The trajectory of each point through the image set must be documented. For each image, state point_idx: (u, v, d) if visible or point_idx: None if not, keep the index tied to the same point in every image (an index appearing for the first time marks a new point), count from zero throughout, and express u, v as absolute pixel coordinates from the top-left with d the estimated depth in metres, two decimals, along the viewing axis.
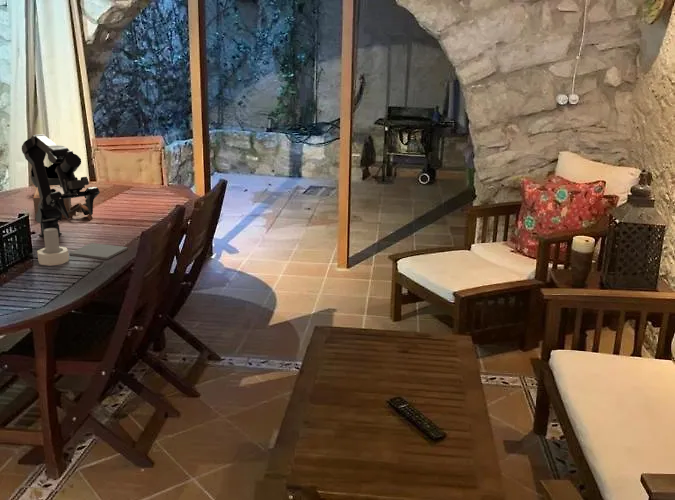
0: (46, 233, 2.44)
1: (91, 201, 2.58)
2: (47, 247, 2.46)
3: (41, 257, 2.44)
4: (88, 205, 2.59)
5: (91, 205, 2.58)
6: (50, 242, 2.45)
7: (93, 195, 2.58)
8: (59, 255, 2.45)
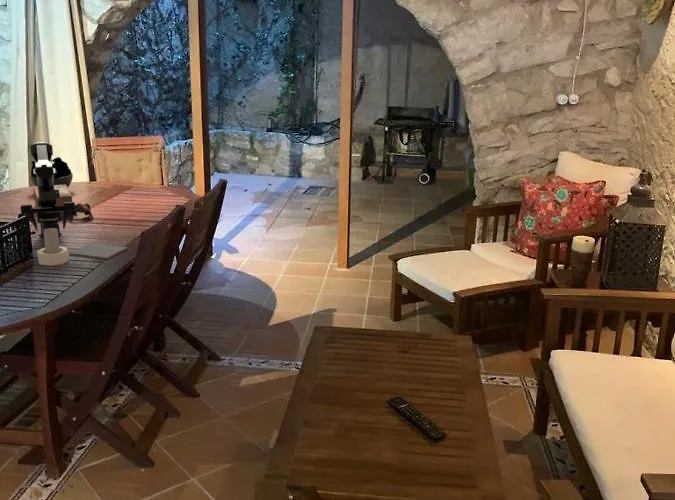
0: (46, 233, 2.44)
1: (64, 216, 2.53)
2: (47, 247, 2.46)
3: (41, 257, 2.44)
4: None
5: (64, 219, 2.52)
6: (50, 242, 2.45)
7: (67, 209, 2.53)
8: (59, 255, 2.45)
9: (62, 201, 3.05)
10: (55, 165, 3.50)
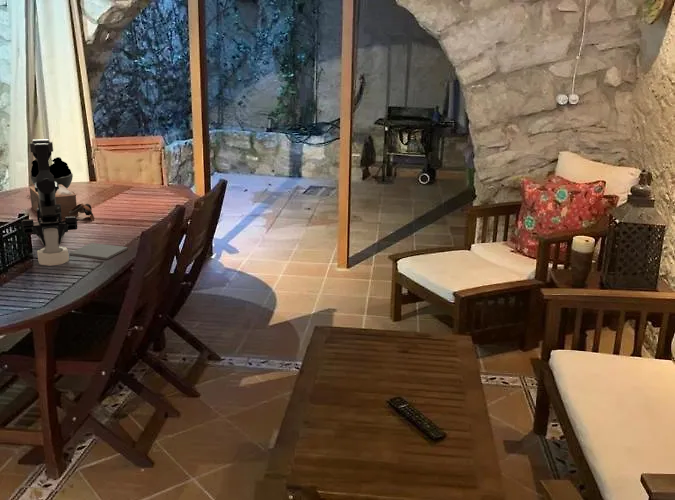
0: (46, 233, 2.44)
1: (60, 231, 2.48)
2: (47, 247, 2.46)
3: (41, 257, 2.44)
4: None
5: (60, 234, 2.48)
6: (50, 242, 2.45)
7: (63, 224, 2.48)
8: (59, 255, 2.45)
9: (66, 200, 3.06)
10: (55, 165, 3.50)
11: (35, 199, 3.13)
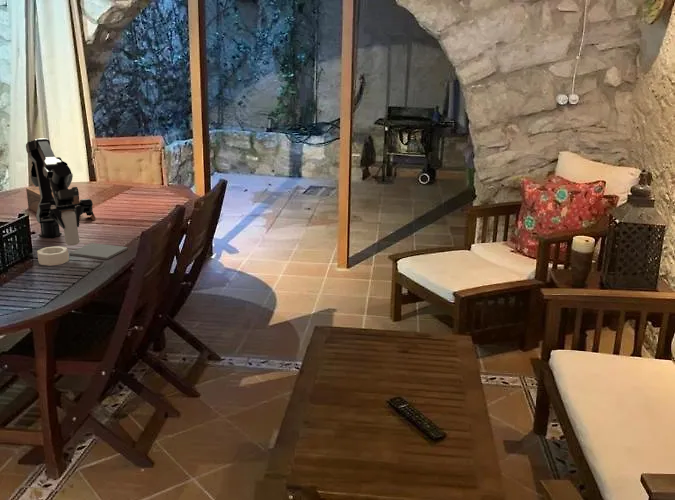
0: (65, 216, 2.46)
1: (78, 213, 2.51)
2: (67, 230, 2.48)
3: (41, 257, 2.44)
4: None
5: (77, 217, 2.51)
6: (70, 225, 2.47)
7: (80, 207, 2.51)
8: (59, 255, 2.45)
9: None
10: None
11: (35, 199, 3.12)
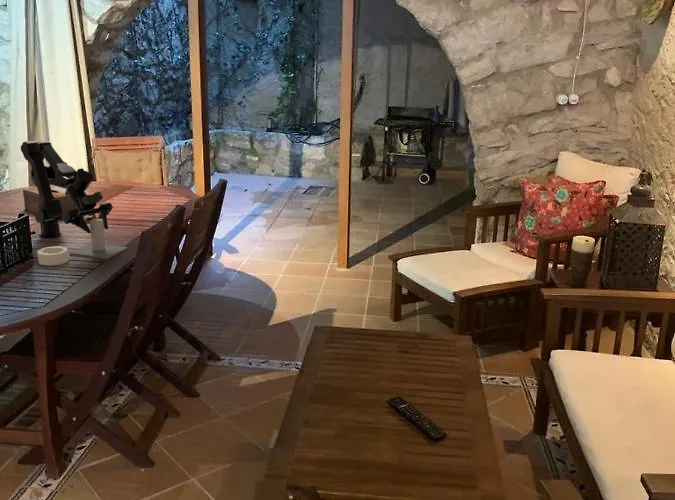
0: (95, 223, 2.55)
1: (104, 217, 2.61)
2: (96, 237, 2.57)
3: (41, 257, 2.44)
4: None
5: (105, 220, 2.60)
6: (100, 231, 2.57)
7: (105, 210, 2.61)
8: (59, 255, 2.45)
9: None
10: None
11: (36, 200, 3.11)
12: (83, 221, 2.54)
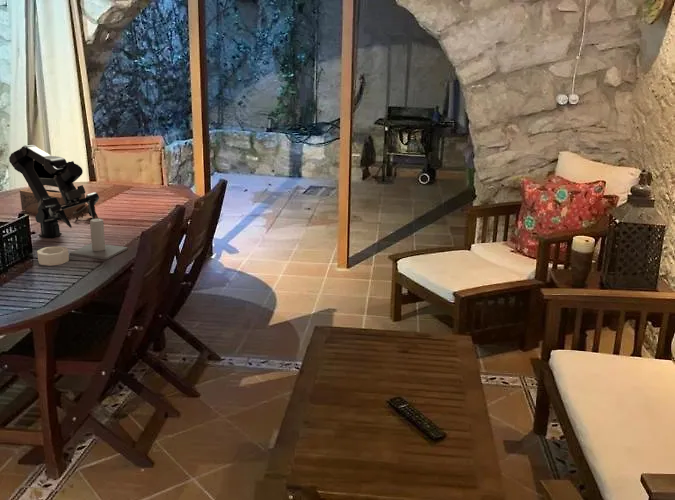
0: (95, 223, 2.55)
1: (92, 207, 2.66)
2: (96, 237, 2.57)
3: (41, 257, 2.44)
4: (90, 211, 2.67)
5: (92, 210, 2.66)
6: (100, 231, 2.57)
7: (93, 201, 2.65)
8: (59, 255, 2.45)
9: None
10: None
11: (37, 201, 3.10)
12: (64, 216, 2.60)
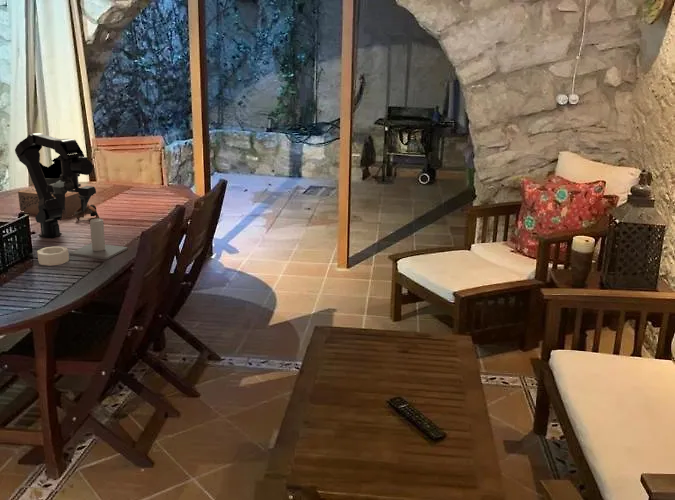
0: (95, 223, 2.55)
1: (82, 201, 2.64)
2: (96, 237, 2.57)
3: (41, 257, 2.44)
4: None
5: (81, 203, 2.65)
6: (100, 231, 2.57)
7: (81, 197, 2.62)
8: (59, 255, 2.45)
9: None
10: (55, 165, 3.50)
11: (38, 201, 3.09)
12: (57, 198, 2.67)
